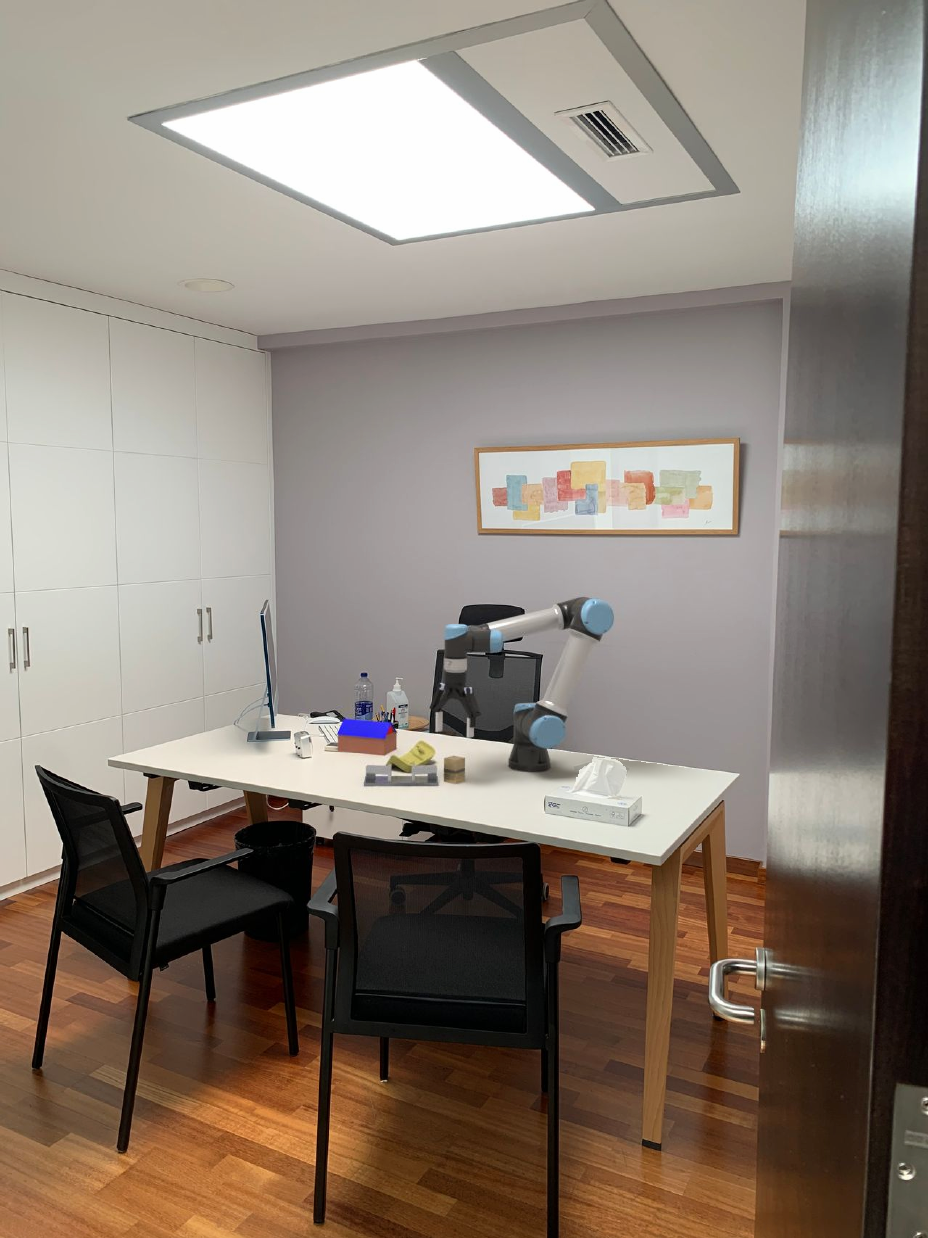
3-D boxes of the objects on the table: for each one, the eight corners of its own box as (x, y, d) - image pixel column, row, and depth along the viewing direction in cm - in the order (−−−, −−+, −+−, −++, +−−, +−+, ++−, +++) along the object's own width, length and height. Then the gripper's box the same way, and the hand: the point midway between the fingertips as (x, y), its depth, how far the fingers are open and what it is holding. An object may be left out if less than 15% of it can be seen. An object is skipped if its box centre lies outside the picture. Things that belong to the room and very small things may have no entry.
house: (384, 756, 341) (384, 725, 340) (336, 751, 347) (336, 721, 346) (397, 749, 352) (397, 719, 351) (350, 745, 359) (350, 715, 358)
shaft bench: (437, 778, 309) (437, 762, 308) (438, 786, 300) (438, 769, 299) (365, 779, 307) (365, 762, 307) (363, 786, 298) (363, 769, 298)
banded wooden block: (453, 778, 309) (453, 755, 309) (465, 781, 306) (465, 757, 305) (443, 781, 305) (443, 758, 305) (455, 784, 302) (455, 760, 301)
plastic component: (412, 767, 314) (389, 752, 318) (405, 785, 317) (382, 769, 320) (440, 752, 332) (418, 737, 335) (433, 768, 334) (411, 754, 338)
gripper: (419, 668, 307) (419, 730, 309) (477, 676, 292) (476, 741, 294) (434, 666, 313) (433, 727, 315) (492, 673, 298) (490, 737, 299)
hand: (454, 734), depth 304 cm, fingers open, 13 cm apart
